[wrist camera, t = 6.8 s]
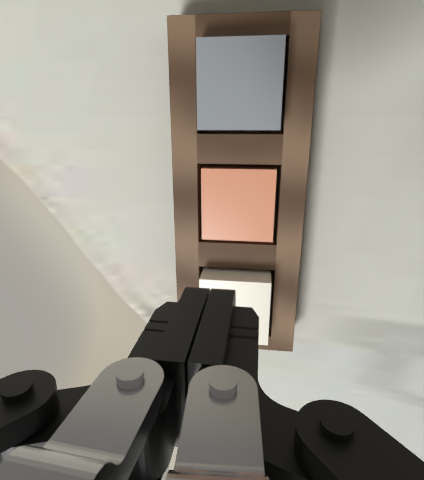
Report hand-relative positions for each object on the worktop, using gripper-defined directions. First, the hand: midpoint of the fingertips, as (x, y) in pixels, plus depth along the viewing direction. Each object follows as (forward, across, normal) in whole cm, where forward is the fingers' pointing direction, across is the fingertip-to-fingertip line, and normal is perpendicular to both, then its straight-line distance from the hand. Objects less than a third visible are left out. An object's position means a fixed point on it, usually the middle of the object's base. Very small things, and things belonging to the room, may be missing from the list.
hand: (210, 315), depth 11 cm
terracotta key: (+17, 0, 0) cm, 17 cm away
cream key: (+15, 0, +7) cm, 17 cm away
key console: (+18, 0, 0) cm, 18 cm away
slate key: (+15, 0, -8) cm, 17 cm away
